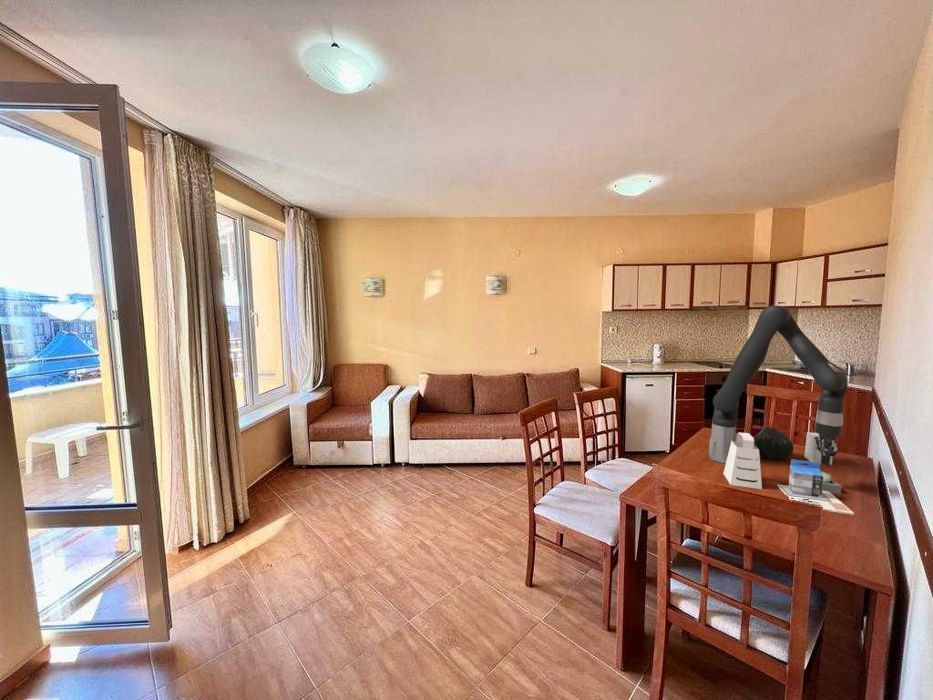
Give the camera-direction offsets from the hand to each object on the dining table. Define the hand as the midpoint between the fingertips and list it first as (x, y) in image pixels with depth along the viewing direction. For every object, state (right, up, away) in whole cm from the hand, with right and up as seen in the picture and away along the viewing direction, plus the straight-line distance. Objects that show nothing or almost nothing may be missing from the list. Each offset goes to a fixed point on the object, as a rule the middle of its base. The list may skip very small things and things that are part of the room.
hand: (825, 464), depth 144 cm
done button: (0, -8, +1) cm, 8 cm away
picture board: (-12, -11, -8) cm, 18 cm away
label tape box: (-13, -10, -5) cm, 17 cm away
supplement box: (+21, -7, +25) cm, 33 cm away
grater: (-28, -9, +7) cm, 30 cm away
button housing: (0, -10, +1) cm, 10 cm away
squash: (+4, -6, +31) cm, 31 cm away
